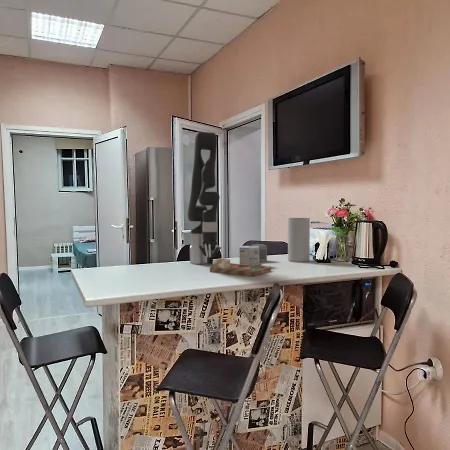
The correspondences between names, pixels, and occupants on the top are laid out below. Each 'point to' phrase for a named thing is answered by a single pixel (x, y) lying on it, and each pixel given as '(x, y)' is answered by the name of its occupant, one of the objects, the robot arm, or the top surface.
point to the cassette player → (262, 252)
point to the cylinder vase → (299, 239)
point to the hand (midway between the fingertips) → (210, 264)
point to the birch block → (222, 263)
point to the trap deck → (242, 269)
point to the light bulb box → (249, 255)
